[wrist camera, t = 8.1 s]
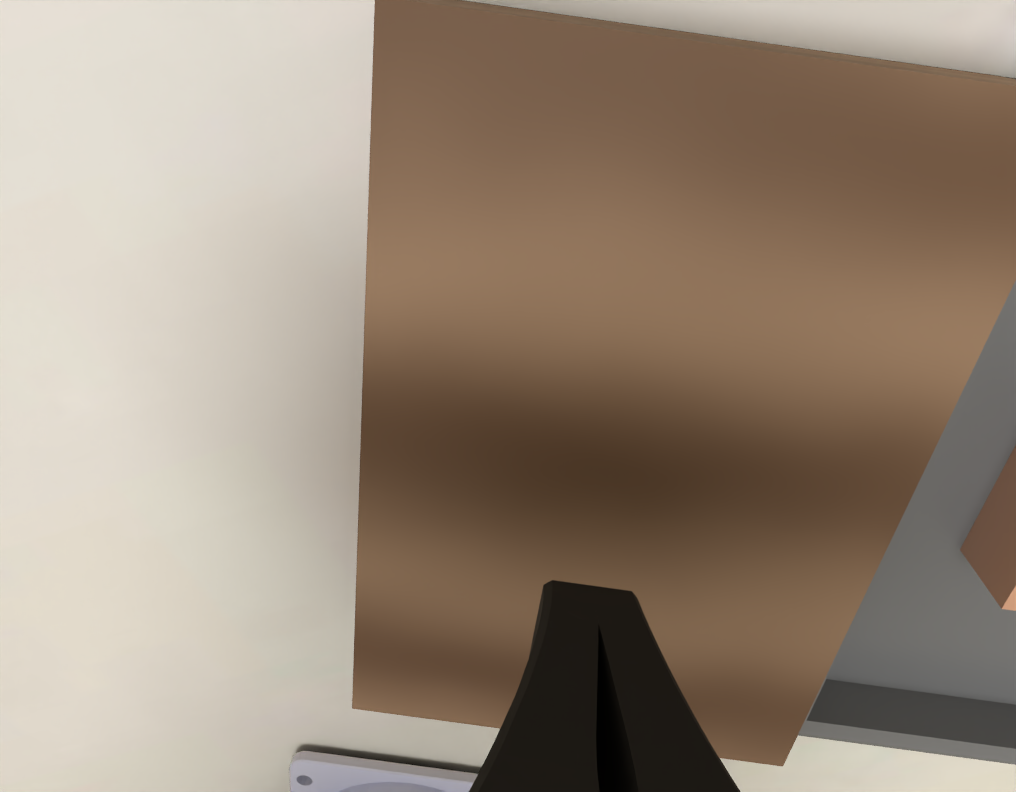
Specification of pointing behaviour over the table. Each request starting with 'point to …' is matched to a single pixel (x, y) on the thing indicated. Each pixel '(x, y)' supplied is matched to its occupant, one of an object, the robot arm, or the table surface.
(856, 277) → the walnut platform
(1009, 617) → the tray
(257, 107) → the table surface
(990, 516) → the terracotta tile
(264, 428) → the table surface
